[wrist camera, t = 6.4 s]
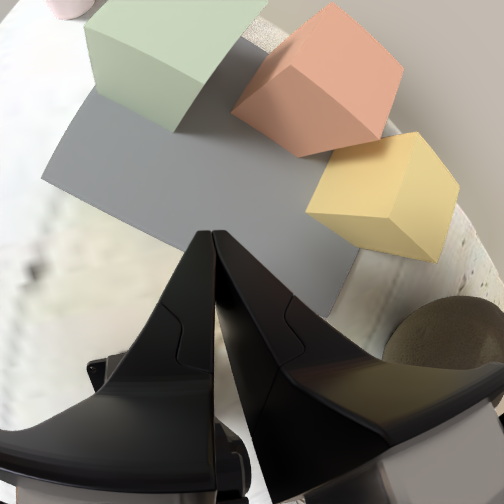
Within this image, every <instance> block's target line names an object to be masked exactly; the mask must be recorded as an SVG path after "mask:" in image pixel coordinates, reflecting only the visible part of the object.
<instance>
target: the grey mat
mask: <svg viewBox="0 0 504 504" xmlns="http://www.w3.org/2000/svg"><path fill="white" fill-rule="evenodd" d="M268 55H269V54H268V53H267V52H265V51H263V50H262V49H260V48H259V47H257V46H256V45H254V44H253V43H251V42H250V41H248V40H246V39H245V38H243V37H241V36H240V38H239V39H238V40H237V41H236V43H235V44H234V45H233V47H232V48H231V49H230V50H229V52H228V53H227V54H226V56H225V57H224V58H223V60H222V61H221V63H220V64H219V65H218V67H217V68H216V69H215V71H214V72H213V74H212V75H211V76H210V78H209V79H208V81H207V82H206V83H205V85H204V86H203V88H202V89H201V91H200V92H199V94H198V95H197V97H196V98H195V100H194V101H193V103H192V104H191V106H190V107H189V109H188V110H187V112H186V113H185V115H184V116H183V118H182V120H181V121H180V123H179V124H178V126H177V128H176V129H175V131H174V132H171V131H169V130H167V129H165V128H164V127H162V126H160V125H158V124H156V123H154V122H153V121H151V120H149V119H147V118H145V117H143V116H141V115H139V114H137V113H136V112H134V111H132V110H130V109H128V108H126V107H124V106H122V105H120V104H118V103H116V102H114V101H112V100H110V99H108V98H106V97H104V96H102V95H100V94H98V93H97V89H96V85H95V86H94V88H93V89H92V91H91V92H90V93H89V95H88V96H87V98H86V99H85V101H84V102H83V104H82V106H81V107H80V109H79V110H78V112H77V113H76V115H75V117H74V118H73V120H72V121H71V123H70V125H69V126H68V128H67V130H66V131H65V133H64V135H63V137H62V138H61V140H60V142H59V144H58V146H57V147H56V149H55V151H54V153H53V155H52V157H51V159H50V161H49V163H48V165H47V167H46V169H45V171H44V173H43V175H42V177H41V179H43V180H45V181H47V182H48V183H50V184H52V185H54V186H56V187H58V188H60V189H61V190H63V191H65V192H67V193H69V194H71V195H73V196H75V197H77V198H78V199H80V200H82V201H84V202H86V203H88V204H90V205H92V206H94V207H96V208H98V209H100V210H101V211H103V212H105V213H107V214H109V215H111V216H113V217H115V218H117V219H119V220H121V221H123V222H125V223H127V224H129V225H131V226H133V227H135V228H137V229H139V230H141V231H143V232H145V233H147V234H149V235H151V236H153V237H155V238H157V239H159V240H161V241H163V242H165V243H167V244H169V245H171V246H173V247H175V248H177V249H179V250H181V251H183V252H185V251H186V249H187V247H188V245H189V244H190V242H191V240H192V238H193V237H194V235H195V233H196V232H197V231H198V230H210V231H211V232H212V231H213V230H226V231H228V232H229V233H230V234H231V235H232V236H233V237H234V238H235V239H236V240H237V241H238V242H239V243H240V244H241V245H243V246H244V247H245V248H246V249H247V250H248V251H249V252H250V253H251V254H252V255H253V256H254V257H255V258H256V259H257V260H259V261H260V262H261V263H262V264H263V265H264V266H265V267H266V268H267V269H268V270H269V271H270V272H271V273H272V274H273V275H274V276H276V277H277V278H278V279H279V280H280V281H281V282H282V283H283V284H284V285H285V286H286V287H287V288H288V289H289V290H290V291H292V292H293V294H294V295H296V296H297V297H298V298H299V299H300V300H301V301H302V302H303V303H305V304H306V305H307V306H308V307H309V308H310V309H311V310H312V311H314V312H315V313H316V314H318V315H320V316H322V317H324V318H327V317H328V315H329V313H330V311H331V309H332V307H333V305H334V303H335V301H336V299H337V297H338V295H339V293H340V290H341V288H342V286H343V284H344V282H345V280H346V278H347V275H348V273H349V271H350V269H351V267H352V264H353V262H354V260H355V258H356V255H357V253H358V251H359V249H360V248H358V247H355V246H354V245H352V244H351V243H350V242H348V241H347V240H345V239H344V238H342V237H341V236H339V235H338V234H337V233H335V232H334V231H332V230H331V229H329V228H328V227H326V226H325V225H323V224H322V223H320V222H319V221H317V220H316V219H314V218H313V217H311V216H310V215H308V214H307V213H305V211H306V209H307V207H308V205H309V203H310V201H311V198H312V196H313V194H314V192H315V190H316V188H317V186H318V183H319V181H320V179H321V177H322V175H323V173H324V170H325V168H326V166H327V164H328V162H329V160H330V157H331V155H332V153H333V151H334V149H333V150H329V151H325V152H320V153H316V154H312V155H307V156H303V157H299V158H297V157H296V156H295V155H293V154H292V153H290V152H289V151H287V150H286V149H285V148H283V147H282V146H280V145H279V144H277V143H276V142H274V141H273V140H271V139H270V138H268V137H267V136H265V135H264V134H262V133H261V132H259V131H258V130H256V129H255V128H253V127H252V126H250V125H249V124H247V123H245V122H244V121H242V120H241V119H239V118H237V117H236V116H234V115H233V114H231V113H230V112H231V111H232V109H233V107H234V106H235V104H236V103H237V101H238V99H239V98H240V96H241V95H242V93H243V92H244V90H245V88H246V87H247V85H248V84H249V82H250V81H251V79H252V78H253V76H254V75H255V73H256V72H257V70H258V69H259V67H260V66H261V64H262V63H263V61H264V60H265V58H266V57H267V56H268Z"/></svg>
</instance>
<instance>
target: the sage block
mask: <svg viewBox="0 0 504 504" xmlns="http://www.w3.org/2000/svg"><path fill="white" fill-rule="evenodd" d="M268 3H269V2H268V1H267V0H108V1H107V2H106V3H105V4H104V5H103V6H102V7H101V8H100V9H99V10H98V11H97V12H96V13H95V14H94V15H93V16H92V17H91V18H90V19H89V20H88V21H87V22H86V24H85V25H84V31H85V37H86V42H87V47H88V53H89V57H90V62H91V67H92V71H93V76H94V80H95V85H96V89H97V93H98V94H100V95H102V96H104V97H106V98H108V99H110V100H112V101H114V102H116V103H118V104H120V105H122V106H124V107H126V108H128V109H130V110H132V111H134V112H136V113H137V114H139V115H141V116H143V117H145V118H147V119H149V120H151V121H153V122H154V123H156V124H158V125H160V126H162V127H164V128H165V129H167V130H169V131H171V132H174V131H175V129H176V128H177V126H178V124H179V123H180V121H181V120H182V118H183V116H184V115H185V113H186V112H187V110H188V109H189V107H190V106H191V104H192V103H193V101H194V100H195V98H196V97H197V95H198V94H199V92H200V91H201V89H202V88H203V86H204V85H205V83H206V82H207V81H208V79H209V78H210V76H211V75H212V74H213V72H214V71H215V69H216V68H217V67H218V65H219V64H220V63H221V61H222V60H223V58H224V57H225V56H226V54H227V53H228V52H229V50H230V49H231V48H232V47H233V45H234V44H235V43H236V41H237V40H238V39H239V38H240V36H241V35H242V34H243V33H244V31H245V30H246V29H247V28H248V26H249V25H250V24H251V23H252V21H253V20H254V19H255V18H256V17H257V16H258V14H259V13H260V12H261V11H262V10H263V8H264V7H265V6H266V5H267V4H268Z"/></svg>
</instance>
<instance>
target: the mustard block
mask: <svg viewBox="0 0 504 504" xmlns="http://www.w3.org/2000/svg"><path fill="white" fill-rule="evenodd" d="M459 189H460V186H459V185H458V183H457V182H456V181H455V179H454V178H453V176H452V175H451V174H450V172H449V171H448V170H447V168H446V167H445V165H444V164H443V163H442V161H441V160H440V159H439V157H438V156H437V155H436V154H435V152H434V151H433V150H432V148H431V147H430V146H429V145H428V144H427V142H426V141H425V140H424V139H423V137H422V136H421V135H420V134H419V133H418V132H412V133H406V134H400V135H395V136H389V137H384V138H380V140H377V141H372V142H367V143H362V144H357V145H352V146H347V147H343V148H338V149H334V151H333V153H332V155H331V157H330V160H329V162H328V164H327V166H326V168H325V170H324V173H323V175H322V177H321V179H320V181H319V183H318V186H317V188H316V190H315V192H314V194H313V196H312V198H311V201H310V203H309V205H308V207H307V209H306V211H305V213H307V214H308V215H310V216H311V217H313V218H314V219H316V220H317V221H319V222H320V223H322V224H323V225H325V226H326V227H328V228H329V229H331V230H332V231H334V232H335V233H337V234H338V235H339V236H341V237H342V238H344V239H345V240H347V241H348V242H350V243H351V244H352V245H354V246H355V247H358V248H363V249H368V250H373V251H378V252H383V253H388V254H393V255H398V256H403V257H407V258H412V259H417V260H422V261H426V262H431V263H436V264H437V263H438V260H439V257H440V254H441V251H442V248H443V245H444V242H445V239H446V236H447V233H448V229H449V226H450V223H451V219H452V216H453V212H454V208H455V205H456V201H457V197H458V193H459Z"/></svg>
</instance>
